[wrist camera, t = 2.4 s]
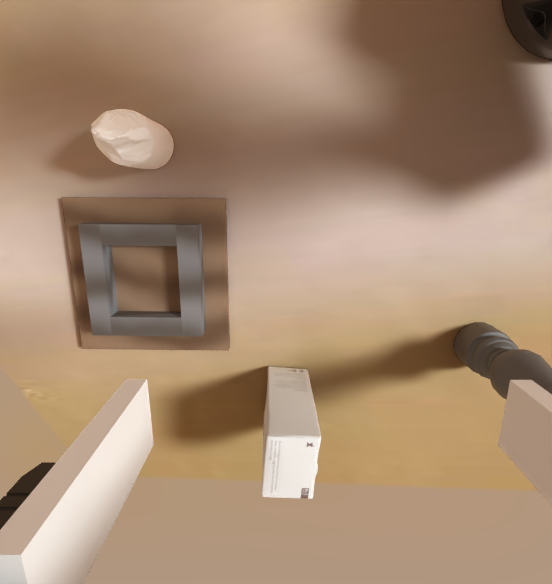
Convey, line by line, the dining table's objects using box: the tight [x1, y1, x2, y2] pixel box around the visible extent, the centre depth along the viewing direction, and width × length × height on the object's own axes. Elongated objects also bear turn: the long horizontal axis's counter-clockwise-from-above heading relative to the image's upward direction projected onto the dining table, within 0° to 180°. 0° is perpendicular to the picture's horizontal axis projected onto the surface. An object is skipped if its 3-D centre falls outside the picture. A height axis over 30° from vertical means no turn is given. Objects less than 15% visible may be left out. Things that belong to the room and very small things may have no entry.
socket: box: [61, 197, 230, 350], centre depth 46 cm, size 20×20×4 cm
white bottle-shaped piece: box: [91, 109, 174, 169], centre depth 38 cm, size 6×12×6 cm
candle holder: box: [454, 322, 552, 399], centre depth 38 cm, size 6×6×25 cm
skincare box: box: [262, 366, 321, 499], centre depth 45 cm, size 8×6×15 cm
